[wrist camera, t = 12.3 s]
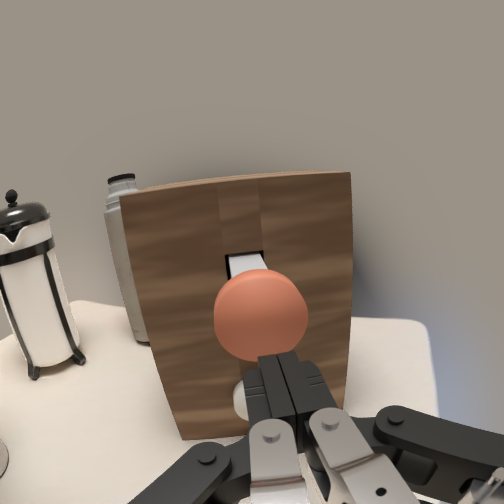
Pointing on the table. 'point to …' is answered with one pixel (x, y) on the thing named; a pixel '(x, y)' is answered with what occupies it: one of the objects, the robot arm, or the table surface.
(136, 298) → the thermos bottle
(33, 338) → the coffee press
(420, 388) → the table surface
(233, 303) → the salmon round knob
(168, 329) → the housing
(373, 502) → the robot arm
